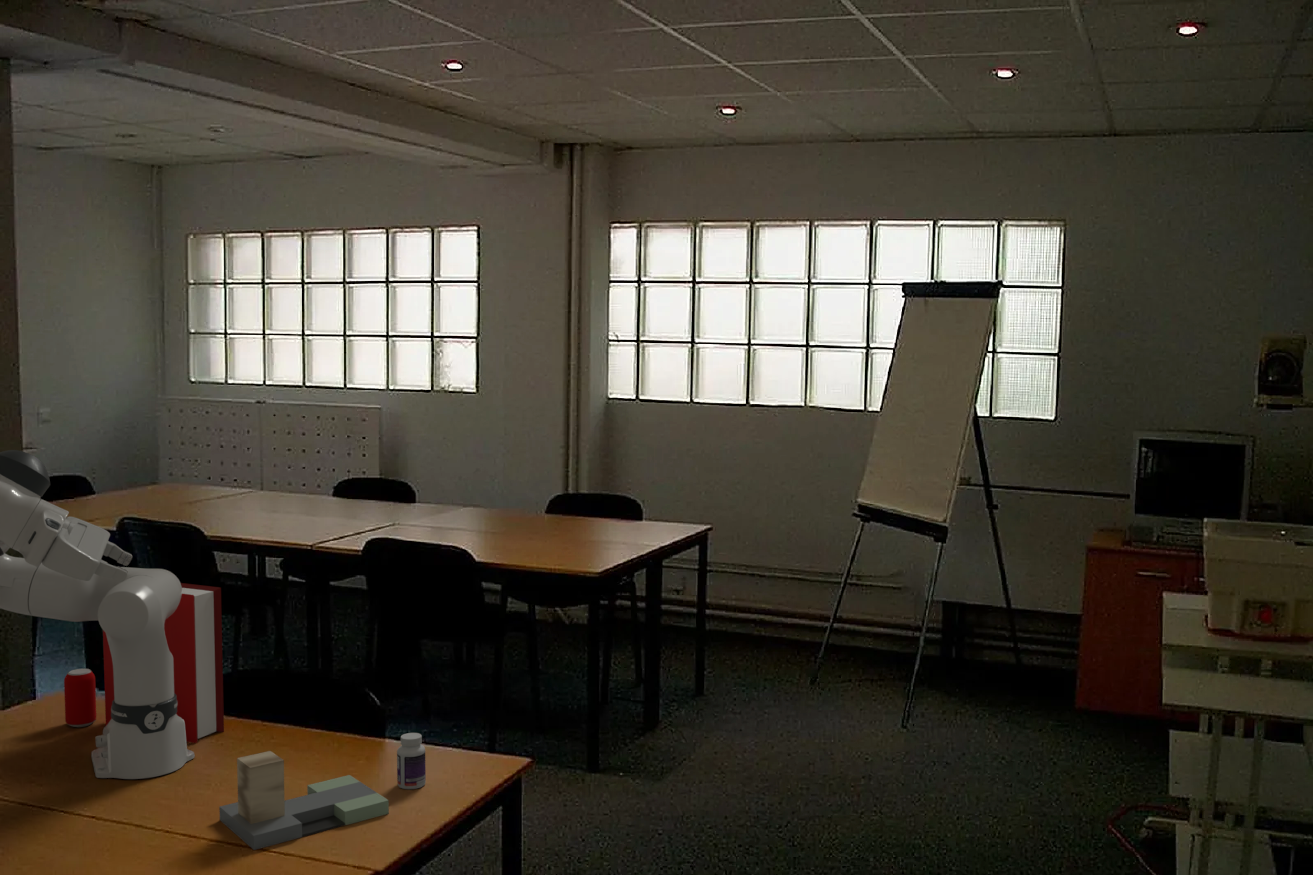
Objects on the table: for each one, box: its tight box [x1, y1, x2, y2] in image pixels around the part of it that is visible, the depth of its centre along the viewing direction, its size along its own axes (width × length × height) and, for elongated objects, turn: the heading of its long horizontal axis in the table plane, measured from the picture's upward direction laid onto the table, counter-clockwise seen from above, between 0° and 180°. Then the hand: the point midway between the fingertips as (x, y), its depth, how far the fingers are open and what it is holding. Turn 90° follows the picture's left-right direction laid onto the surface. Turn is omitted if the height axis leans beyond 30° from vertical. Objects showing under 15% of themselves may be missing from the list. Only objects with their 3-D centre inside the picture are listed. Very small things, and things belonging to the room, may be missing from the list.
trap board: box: [218, 774, 390, 851], centre depth 217 cm, size 16×25×2 cm, turn 130°
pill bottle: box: [396, 732, 427, 790], centre depth 232 cm, size 5×5×10 cm
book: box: [102, 582, 225, 744], centre depth 262 cm, size 27×8×32 cm, turn 67°
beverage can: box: [63, 668, 97, 728], centre depth 266 cm, size 6×6×12 cm
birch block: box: [236, 750, 285, 824], centre depth 211 cm, size 6×6×10 cm
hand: (128, 568), depth 198 cm, fingers open, 8 cm apart
